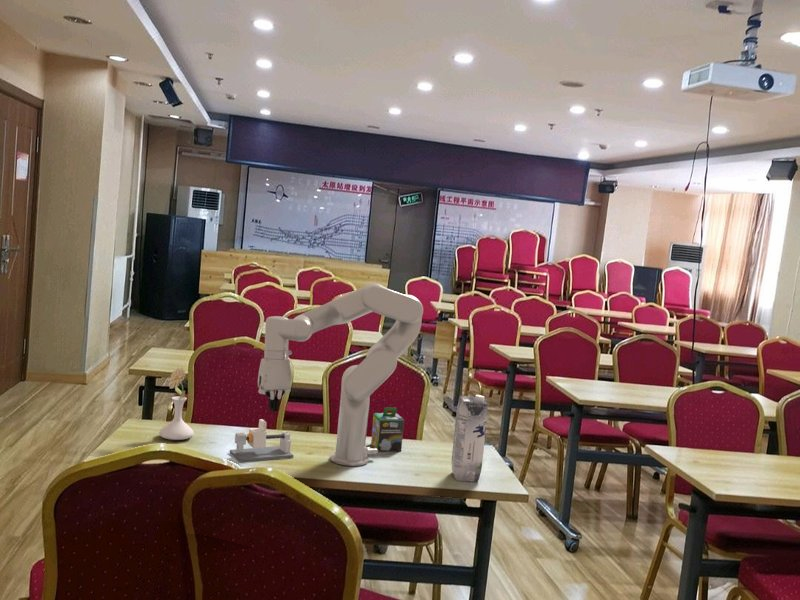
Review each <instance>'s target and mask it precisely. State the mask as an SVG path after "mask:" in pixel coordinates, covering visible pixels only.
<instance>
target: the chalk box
mask: <svg viewBox="0 0 800 600" xmlns="http://www.w3.org/2000/svg"><path fill="white" fill-rule="evenodd" d="M388 411H392V412H388ZM372 415H373V417H372V429H371V439H370V441H371V442H370V443H371V445H372V447H373V448H377V450H378V452H385V451H386V452H402V447H403V439H404V438H403V437H404V427H405V419H404V418H403V417H402V416H400V414H398V413H397V407H384V408H383V412H380V413H379V412H374V413H373V414H372Z"/></svg>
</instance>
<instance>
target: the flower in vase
mask: <svg viewBox="0 0 800 600" xmlns="http://www.w3.org/2000/svg"><path fill="white" fill-rule="evenodd" d="M185 377H186V369H185V368H184V367H183V366H182V367H180V366H178V368H177V367H176V369H175V370H173V371H172V372H171V374H170V377H169V378H168V383H167V386H168V387H169V390H170V389H175V390H174V391H175V392H176V393H177V394H178V395H180V396H177V395H176V396H172V397H171V400H172V402H173V404H174V405H173V406H174V415H173V419H172V420H171V421H170V422H169V423H167V424H165V425H164V426H162V428H160V430H159V432H158V434H159V436H160V437H161V438H164V439H166V440H172V441H183V440H188V439H190V438H192V437H193V436H194V435H195V432H194V429H192V427H190V425H188V424H187V423H186V422H185V421H184V420H183V418H182V412H183V407H184V404H185V402H186V401H187V399H188V398H187V397H186V396H185V395H186V390H184V385H183V381H184V379H185ZM180 385H181V389H180V388H179V386H180Z"/></svg>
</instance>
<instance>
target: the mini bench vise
mask: <svg viewBox="0 0 800 600" xmlns="http://www.w3.org/2000/svg"><path fill="white" fill-rule="evenodd" d="M281 434H285V436H284V438H279V445H278V446H265V447H260V448H253V447H250V448H243V455H238V454H236V448H235V449H229V454H230V455H231V456H232V457H233V458H234V459H236V460H237V461H238V462H239V463H246V462H247V463H248V462H260V461H261V462H262V461H273V459H275V460H281V459H280V458H287V459H293V458H294V454H293V453H292V452H291V444H292V441H291V434H290V433H288V431H281Z"/></svg>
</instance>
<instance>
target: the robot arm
mask: <svg viewBox="0 0 800 600" xmlns="http://www.w3.org/2000/svg"><path fill="white" fill-rule="evenodd" d="M370 313H375V314H379V315H381V316H383V317H387V318H388V319H389V318H390V319H392V320H395V322H394V324H393V325H392V326H391V328H390V329H389V330H387V332H386V333H385V334H384V335H383V336H382V337H380V339H379V340H378V341H376V343H374V344H373V345H372V346H371V347H369V349H368V351H367V352H366V357H365V358H364V359H363V360H362V361H361V362H360V363H359V364H354V365H351V366H349V367H348V368H346V369H345V371H344V372H343V373H342V374H343V375H342V377H341V384H340V385H341V387H340V388H341V390H340V400H339V413H338V421H337V422H338V423H337V432H336V433H337V434H336V442H335V443H336V444H335V452H332V453H331V454H330V461H332V463H335V464H337V465H341V466H342V465H343V466H349V467H361V466H363V465H367V464H368V463H369V460H370V459H369V456H370V455H377V454H378V452H379V451H378V450H377V448H375V447H373V448H371V447H370V446H366V442H367V441H366V440H367V432H368V430H367V429H368V420H369V413H370V411H369V410H370V399H371V398H370V397H371V395H372V394H374V392H375V391H376V390H377V389H378V388H380V386H382V385H383V383H384V382H385V381H387V379H389V377H391V375H392V374H393V373H394V372H395V370H396V369H397V365H398V359H399V358H400V357H401V356H402V355H403V354H404V353H405V352H406V351H407V349H409V347H411V345H412V344H413V343H414V342H415V340H416V339H417V337H418V336H419V334H420V331H421V328H422V322H423V321H422V319H423V318H422V317H423V314H424V306H423V304H422V302H421V301H420V299H418V298H417V297H416V296H414V295H412V294H403V293H400V292H398V291H394V290H392V289H390V288H387V287H385V286H384V285H381V284H380V283H374V282H373V283H369V284H367V285H365V286H362V287H361V288H357V289H356V290H354V291H352V292H349V293H346V294H345V295H342V296H340V297H338V298H335V299H333V300H331V301H329V302H327V303H324V304H322V305H319V306H317V307H315V308H312V309H310V310H308V311H305V312H303V313H301V314H299V315H297V316H295V317H294V318H288V317H285V316H279V315H274V316H268V317H267V318H266V320H265V331H264V332H265V333H264V352H263V353H264V355H263V358H261V359H260V363H259V369H258V376H257V388H258V391H257V392H258V393H259V395H266V397H267V398H268V409H269V411H271V412H273V413H275V412H279V408H280V400H281V399H282V397H283V396H284V395H285V394H287V393H290V392H291V386H292V367H291V359H290V358H289V356H290V355H291V356H292V354H293V352H292V350H290V349H289V342H290V341H295V342H306V341H308V340H309V339H310V338H311V336H312V335H313V334H314V333H318V332H319V331H322V330H324V329H327V328H330V327H332V326H336V325H337V326H338V325H343V324H344V325H345V324H348V323H350V322H352V321H354V320H356V319H358V318H361V317H363V316H366V315H368V314H370Z"/></svg>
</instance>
